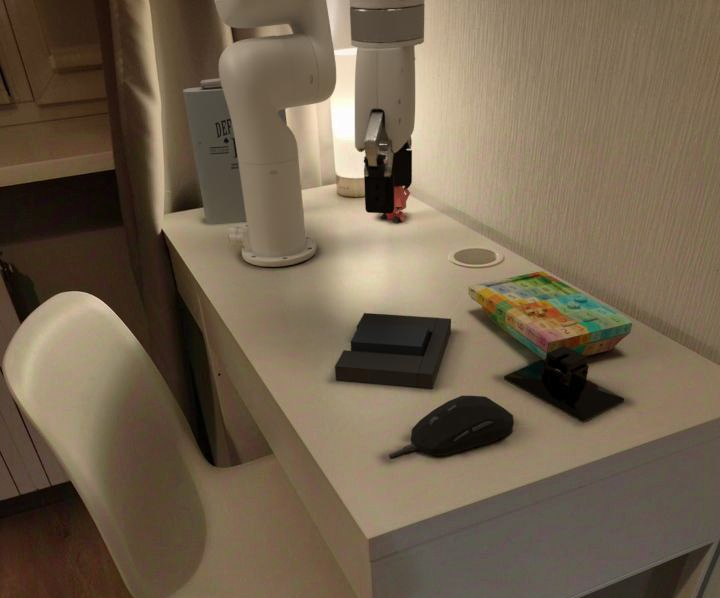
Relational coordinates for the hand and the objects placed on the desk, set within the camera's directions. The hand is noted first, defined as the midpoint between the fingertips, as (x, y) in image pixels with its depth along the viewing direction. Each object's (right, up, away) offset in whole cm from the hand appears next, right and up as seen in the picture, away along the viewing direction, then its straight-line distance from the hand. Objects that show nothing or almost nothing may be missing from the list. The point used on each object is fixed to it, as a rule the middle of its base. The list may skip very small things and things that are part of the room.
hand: (389, 198), depth 84 cm
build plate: (+20, -22, +1) cm, 30 cm away
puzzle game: (+21, -13, +12) cm, 27 cm away
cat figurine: (+3, +16, +51) cm, 53 cm away
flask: (-24, +18, +55) cm, 63 cm away
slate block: (+1, -17, +9) cm, 19 cm away
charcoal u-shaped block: (+1, -17, +9) cm, 19 cm away
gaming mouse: (+6, -29, -6) cm, 30 cm away
